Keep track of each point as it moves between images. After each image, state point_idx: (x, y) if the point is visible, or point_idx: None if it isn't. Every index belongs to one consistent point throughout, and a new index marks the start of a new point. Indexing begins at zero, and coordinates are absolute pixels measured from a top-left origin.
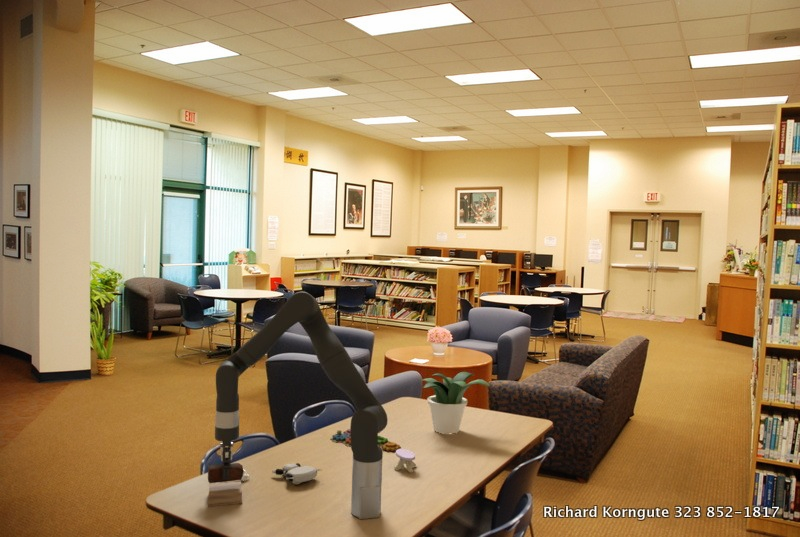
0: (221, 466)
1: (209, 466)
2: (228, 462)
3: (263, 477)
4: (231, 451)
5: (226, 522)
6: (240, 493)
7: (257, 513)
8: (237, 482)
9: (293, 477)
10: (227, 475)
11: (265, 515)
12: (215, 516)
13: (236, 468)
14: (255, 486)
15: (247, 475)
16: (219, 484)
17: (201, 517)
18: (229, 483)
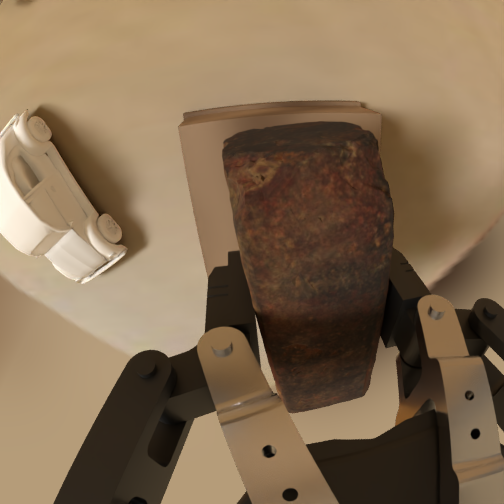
0: (336, 359)
1: (309, 409)
2: (251, 333)
3: (10, 48)
4: (494, 454)
5: (486, 179)
6: (378, 122)
7: (460, 54)
8: (198, 149)
9: None
10: (406, 268)
11: (476, 31)
12: (439, 217)
13: (390, 223)
14: (114, 47)
15: (21, 123)
16: (227, 257)
17: (426, 260)
18: (213, 201)
